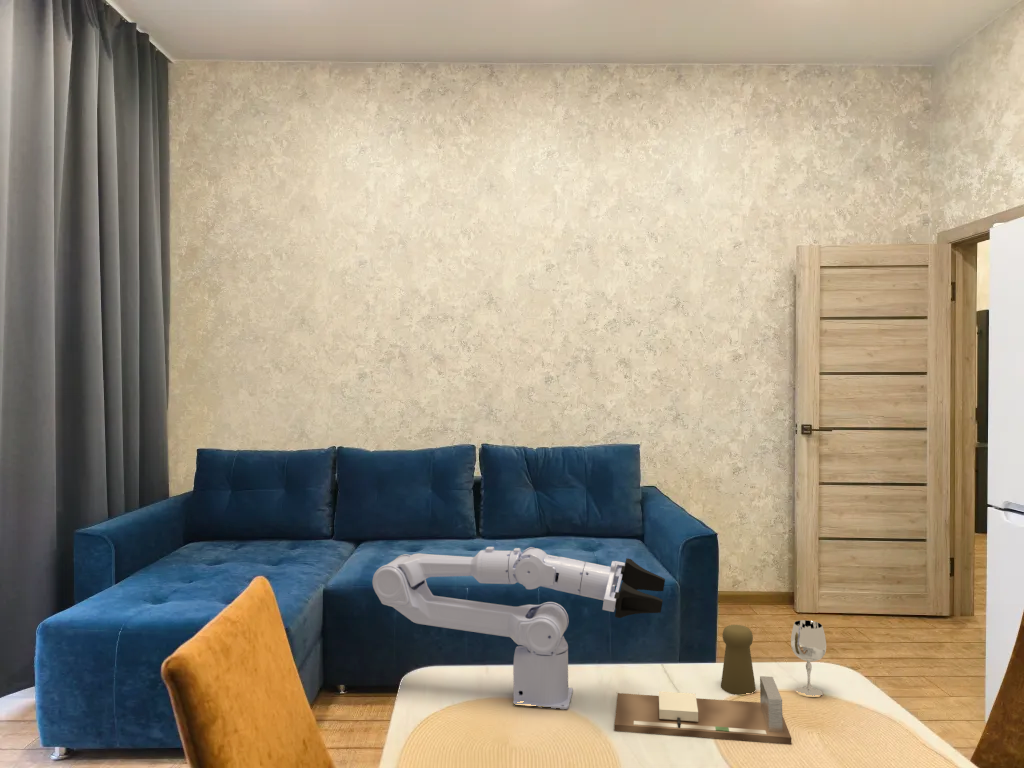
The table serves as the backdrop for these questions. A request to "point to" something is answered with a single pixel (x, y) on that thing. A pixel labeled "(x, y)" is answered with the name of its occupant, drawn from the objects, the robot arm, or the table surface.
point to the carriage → (678, 706)
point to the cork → (737, 661)
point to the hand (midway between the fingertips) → (663, 595)
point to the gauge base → (712, 720)
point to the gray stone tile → (771, 704)
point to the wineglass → (808, 648)
